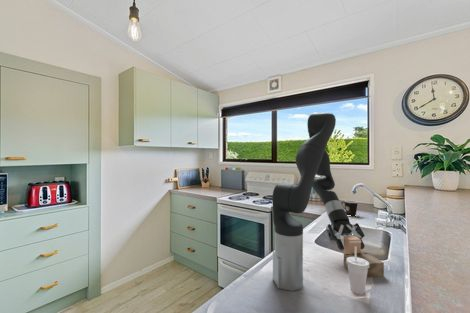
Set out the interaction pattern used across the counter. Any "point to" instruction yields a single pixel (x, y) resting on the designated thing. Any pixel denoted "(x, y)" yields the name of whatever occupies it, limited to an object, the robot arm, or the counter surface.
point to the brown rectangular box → (374, 264)
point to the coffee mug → (350, 207)
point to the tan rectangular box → (351, 244)
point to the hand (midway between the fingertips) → (352, 249)
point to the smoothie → (357, 273)
